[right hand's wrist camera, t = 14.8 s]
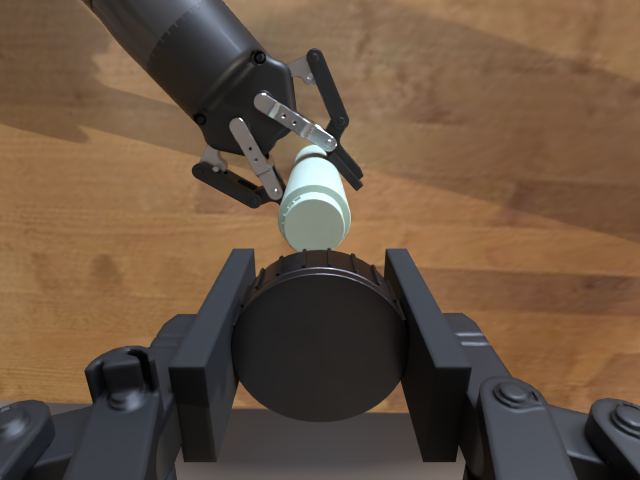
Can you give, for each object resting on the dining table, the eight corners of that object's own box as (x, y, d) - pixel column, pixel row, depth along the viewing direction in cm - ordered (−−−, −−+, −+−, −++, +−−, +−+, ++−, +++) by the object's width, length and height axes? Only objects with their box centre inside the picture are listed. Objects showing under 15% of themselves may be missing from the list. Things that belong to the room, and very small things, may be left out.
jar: (288, 152, 38) (263, 204, 20) (329, 139, 37) (340, 180, 20) (302, 192, 39) (290, 272, 21) (341, 179, 39) (361, 251, 21)
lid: (345, 406, 13) (349, 448, 12) (212, 343, 12) (197, 379, 11) (432, 296, 12) (449, 327, 10) (288, 215, 11) (283, 236, 9)
